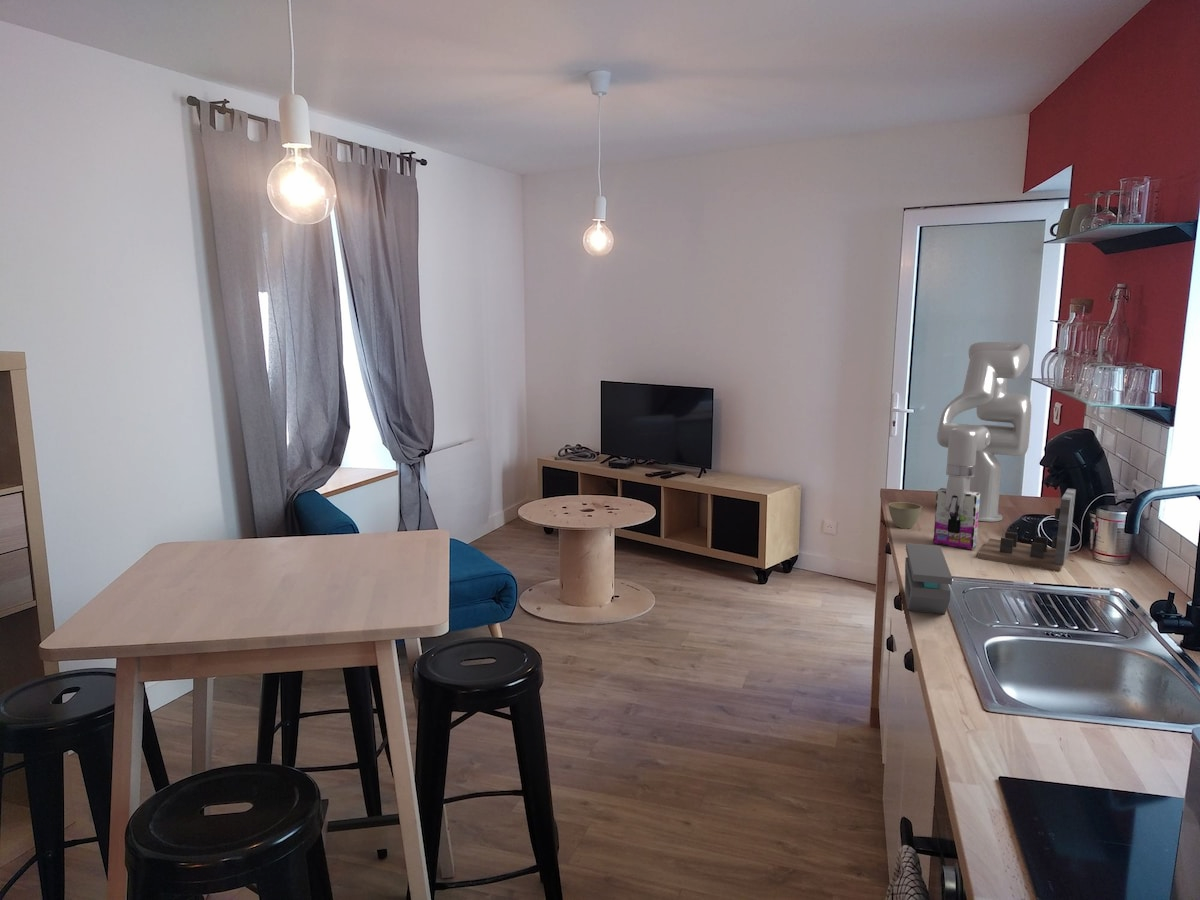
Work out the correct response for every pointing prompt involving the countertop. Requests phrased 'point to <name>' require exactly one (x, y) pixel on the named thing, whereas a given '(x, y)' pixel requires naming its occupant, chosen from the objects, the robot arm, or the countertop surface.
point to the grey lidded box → (926, 579)
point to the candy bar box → (967, 524)
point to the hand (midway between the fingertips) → (955, 529)
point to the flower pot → (904, 513)
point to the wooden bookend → (1036, 543)
